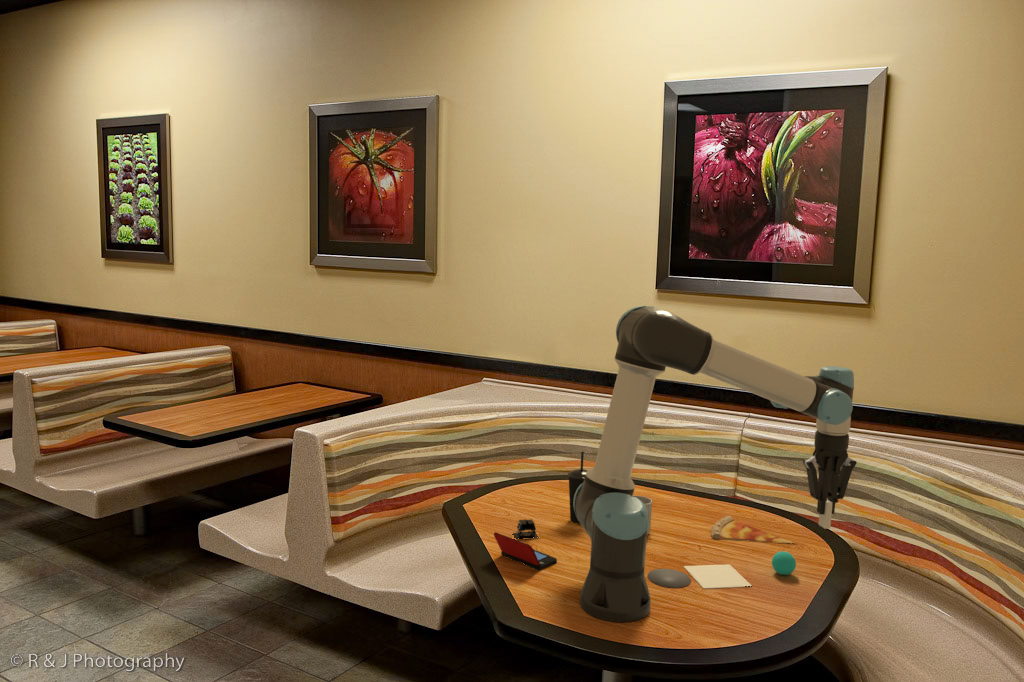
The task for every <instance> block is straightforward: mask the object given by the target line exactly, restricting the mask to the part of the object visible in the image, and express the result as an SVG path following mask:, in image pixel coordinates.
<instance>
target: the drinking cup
mask: <svg viewBox="0 0 1024 682" xmlns="http://www.w3.org/2000/svg"><path fill="white" fill-rule="evenodd" d="M584 454H585V453H584V451H581V454H580V468H575V469H573V470H570V471H568V472H567V476H568V495H569V516H570V517H569V520H571V521H572V522H573V524H575V523H578V524H577V525H581V524H580V522H579V521H578V520H577V517H576V514H575V511H574V506H573V500H574V495H575V492H576V490H577V489H578V487H579V486H580V485H581V484H582V483H583V482H584V478H585V474H586V472H587V471H589V469H584V459H585V458H584ZM571 521H570V522H571ZM572 522H571V523H572Z"/></svg>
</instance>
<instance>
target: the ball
mask: <svg viewBox="0 0 1024 682" xmlns="http://www.w3.org/2000/svg"><path fill="white" fill-rule="evenodd" d="M771 564H772V565H771V567H772V568H773V570H774V571H775V572H776V573H777V574H780V575H781V576H789V575H791V574H792V573H794V571H795V570H796V567H797V563H796V560H795V557H794V555H793V554H791V553H790V552H789V551H783V550H782V551H778V552H776V553H775V554H774V555H773V556H772V559H771Z"/></svg>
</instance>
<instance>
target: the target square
mask: <svg viewBox="0 0 1024 682" xmlns="http://www.w3.org/2000/svg"><path fill="white" fill-rule="evenodd" d="M683 568H684V569H685V570H686V571H687V572H688V574H689V575H690V576H691V577H692V578H693V579H694V580H695V581H696V583H698V585H700V587H701V588H702V589H704V590H709V589H710V590H711V589H729V588H731V589H732V588H752V587H753V585H752V584H751V583H750V582H749V581H748V580H746V579H745V577H743V576H742V575H741V574H740V573H739V572H738V571H737V570H736V569H735V568H734V567H733V566H732V565H731V564H729V563H726V564H710V565H709V564H708V565H707V564H705V565H702V564H701V565H699V564H698V565H684V566H683ZM745 586H747V587H745ZM748 586H750V587H748ZM751 586H752V587H751Z"/></svg>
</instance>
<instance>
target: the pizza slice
mask: <svg viewBox="0 0 1024 682" xmlns="http://www.w3.org/2000/svg"><path fill="white" fill-rule="evenodd" d="M710 532H711V534H710V536H711V539H713V538H715V539H716V540H727V539H730V540H731V541H741V540H749V541H748V542H754V541H761V542H760V543H768V542H782V543H796V542H795V541H793V540H789V539H787V538H783V537H782V536H779V535H778V536H777V535H775V534H772V533H769V532H767V531H764V530H762V529H758V528H757V527H756V528H755V527H754V526H753V527H752V526H750V525H747V524H744V523H742V522H739V521H736V520H735V518H733V516H731V515H726V516H724V517H721V518H719V520H718V521H716V522H715V523H714V524H713V525H712V526H711V529H710ZM715 539H714V540H715ZM782 543H781V544H782Z"/></svg>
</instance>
